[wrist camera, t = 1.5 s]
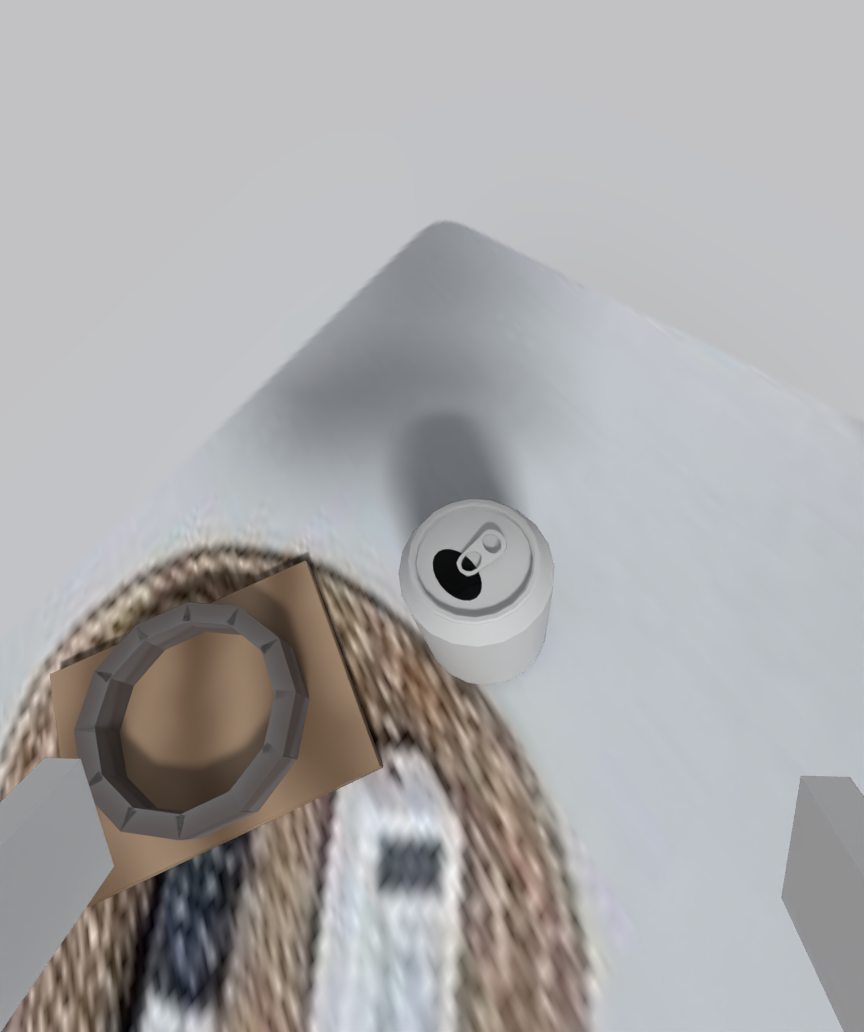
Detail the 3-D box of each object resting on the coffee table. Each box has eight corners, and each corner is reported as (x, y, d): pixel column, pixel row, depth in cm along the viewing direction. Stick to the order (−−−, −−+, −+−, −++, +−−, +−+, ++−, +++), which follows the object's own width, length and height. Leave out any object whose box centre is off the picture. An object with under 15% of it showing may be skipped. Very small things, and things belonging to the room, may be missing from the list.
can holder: (310, 565, 42) (293, 546, 39) (383, 767, 36) (370, 763, 33) (60, 677, 41) (22, 666, 38) (91, 906, 35) (48, 915, 32)
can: (403, 617, 40) (361, 545, 29) (494, 549, 41) (486, 456, 30) (475, 713, 37) (457, 672, 26) (571, 637, 38) (592, 567, 27)
